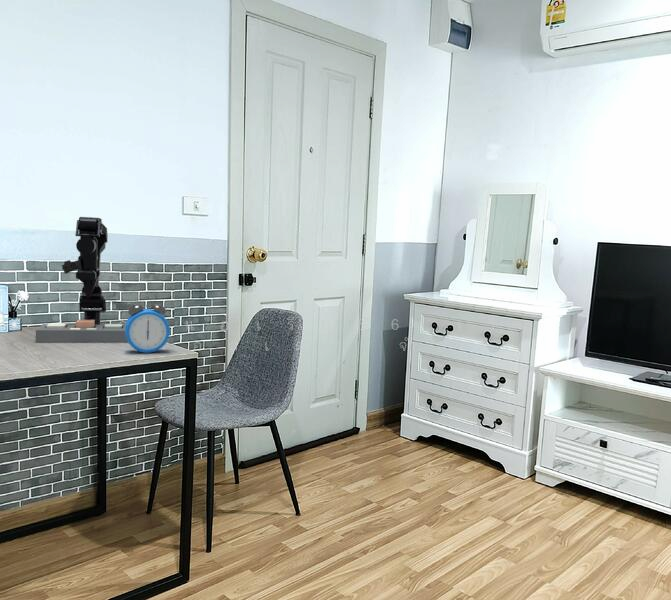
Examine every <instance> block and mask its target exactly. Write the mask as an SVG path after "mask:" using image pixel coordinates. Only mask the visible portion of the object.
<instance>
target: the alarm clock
mask: <svg viewBox="0 0 671 600" xmlns="http://www.w3.org/2000/svg"><path fill="white" fill-rule="evenodd" d="M144 307H145V306H143V305H142V304H141V303H135V304H132V305H131V306H130V307H129V308H128V312H127V313H128V315H129V316H128V317H127V319H126V322H125V324H124V325H125V336H126V338H127V341H128V342H127V343H128V344H129V345H130V347H132V348H133V349H134V350H136V351H135V354H137V353H138V352H140V353H145V354H146V353H148V354H150V353H155V352H158V353H160V351H159V350H161V349H162V348H163V347H164V346H165V345H166V344H167V343H168V340H169V338H170V334H171V330H170V329H171V328H170V324H169V322H168V320H167V318H166V317H164V316H165V315H166V314H167V309H166V307H165V306H163V304H159V303H155V304H153V305H151V307H150V305H146V308H144ZM149 307H150V308H149Z"/></svg>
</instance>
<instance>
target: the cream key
mask: <svg viewBox="0 0 671 600" xmlns="http://www.w3.org/2000/svg"><path fill="white" fill-rule="evenodd" d="M47 324H48V325H47V326H46V328H66V324H67V323H47Z"/></svg>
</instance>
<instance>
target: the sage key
mask: <svg viewBox="0 0 671 600" xmlns="http://www.w3.org/2000/svg"><path fill="white" fill-rule="evenodd" d="M104 325H105V326H104V328H122V325H123V324H122V323H105V324H104Z"/></svg>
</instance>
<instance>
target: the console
mask: <svg viewBox="0 0 671 600" xmlns="http://www.w3.org/2000/svg"><path fill="white" fill-rule="evenodd" d="M48 324H49V323H42V324H41V325H40V326H39V327H38V328H36V330H35V343H96V344H97V343H98V344H99V343H103V344H105V343H111V344H112V343H113V344H114V343H123V344H124V343H128V341H127V338H126V336H125V324H122V328H104V326H105V324H100V325H95V328H76V323H75V324H73V323H72V324H71V323H70V324H67V323H65V324H66V328H46V326H47V325H48Z"/></svg>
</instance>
